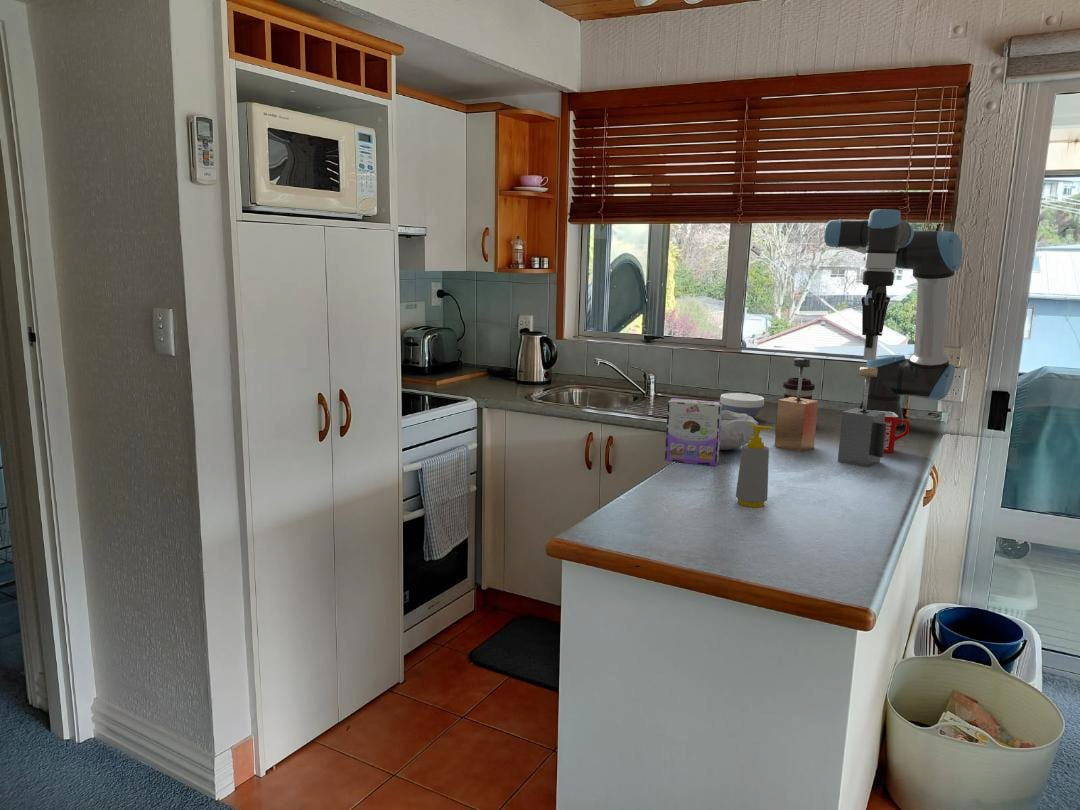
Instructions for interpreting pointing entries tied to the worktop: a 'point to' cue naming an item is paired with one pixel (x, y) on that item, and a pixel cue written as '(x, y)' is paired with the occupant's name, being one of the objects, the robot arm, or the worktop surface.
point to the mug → (892, 430)
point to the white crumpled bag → (735, 430)
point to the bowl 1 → (742, 403)
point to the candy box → (693, 431)
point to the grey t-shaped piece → (801, 372)
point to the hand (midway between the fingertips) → (869, 359)
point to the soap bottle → (753, 471)
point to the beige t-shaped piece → (867, 382)
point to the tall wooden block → (796, 423)
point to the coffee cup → (792, 388)
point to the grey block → (862, 437)
